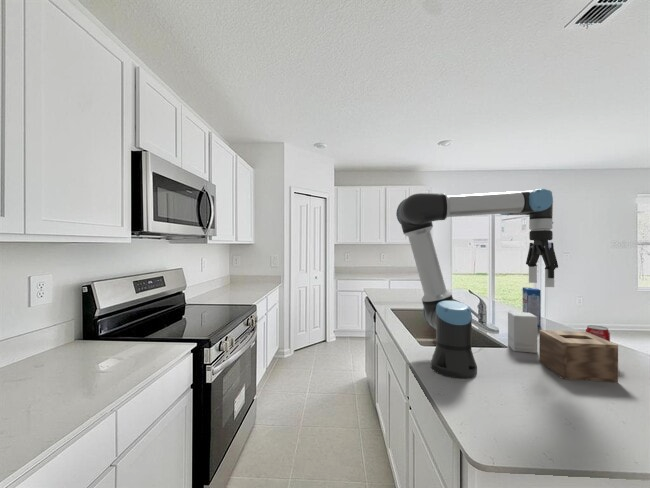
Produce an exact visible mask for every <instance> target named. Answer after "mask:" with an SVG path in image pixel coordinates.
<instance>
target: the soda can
mask: <svg viewBox="0 0 650 488" xmlns="http://www.w3.org/2000/svg"><path fill="white" fill-rule="evenodd" d="M586 327H587V328H586V329H585V332H588V333H591V334H593V335H595V336H598V337H600V338H602V339H605V340H607V341H609V342H611V333H610V331H609V328H608V327H606V326H602V325H587V326H586Z"/></svg>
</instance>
